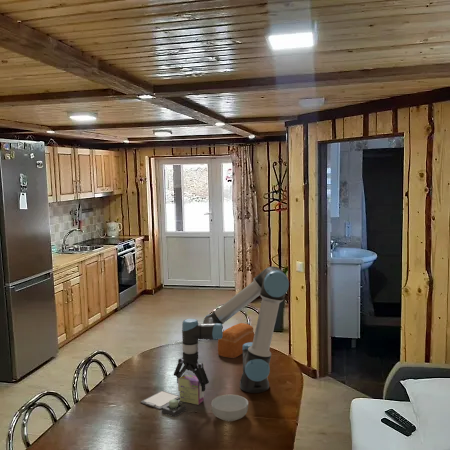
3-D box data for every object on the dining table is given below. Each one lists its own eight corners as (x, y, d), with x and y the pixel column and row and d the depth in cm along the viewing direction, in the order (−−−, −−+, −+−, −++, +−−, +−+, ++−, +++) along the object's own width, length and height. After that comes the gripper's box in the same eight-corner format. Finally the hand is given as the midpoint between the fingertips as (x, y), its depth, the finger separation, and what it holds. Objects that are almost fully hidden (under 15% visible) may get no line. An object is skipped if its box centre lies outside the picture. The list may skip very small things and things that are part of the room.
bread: (215, 355, 296) (215, 330, 294) (238, 343, 318) (237, 319, 316) (235, 359, 288) (234, 333, 287) (256, 346, 310) (256, 322, 309)
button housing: (186, 410, 226) (186, 405, 225) (174, 417, 219) (174, 412, 219) (173, 405, 230) (173, 400, 230) (161, 412, 224) (161, 407, 224)
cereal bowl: (236, 430, 206) (236, 414, 206) (204, 420, 215) (203, 405, 215) (255, 413, 221) (254, 398, 220) (224, 405, 230) (224, 391, 229)
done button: (180, 405, 225) (180, 400, 225) (174, 409, 222) (174, 404, 221) (173, 403, 227) (173, 398, 227) (167, 406, 224) (167, 401, 224)
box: (204, 400, 236) (203, 376, 234) (198, 405, 230) (197, 381, 229) (185, 396, 240) (184, 373, 239) (179, 401, 235) (179, 378, 234)
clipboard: (181, 397, 239) (181, 395, 238) (159, 410, 226) (159, 407, 226) (162, 391, 246) (161, 389, 246) (140, 403, 234) (140, 400, 234)
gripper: (215, 354, 229) (216, 397, 230) (176, 344, 243) (177, 384, 245) (205, 359, 223) (206, 403, 224) (166, 348, 237) (166, 390, 239)
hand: (191, 393), depth 235 cm, fingers open, 13 cm apart
